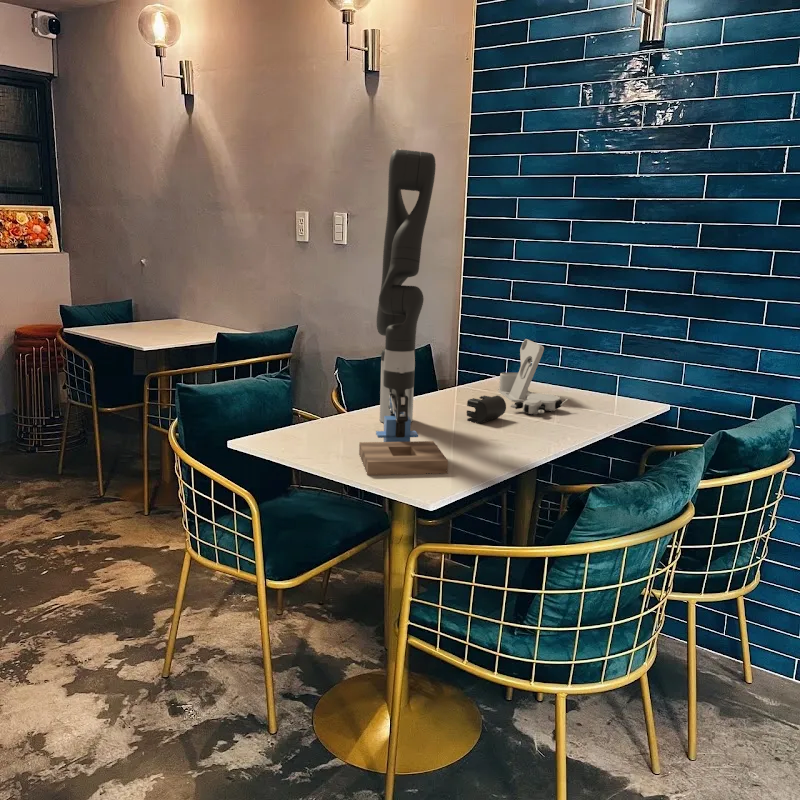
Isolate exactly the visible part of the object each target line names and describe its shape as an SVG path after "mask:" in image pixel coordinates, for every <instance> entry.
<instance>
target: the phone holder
mask: <svg viewBox="0 0 800 800" xmlns="http://www.w3.org/2000/svg"><path fill="white" fill-rule="evenodd" d="M544 351H545V347H544V345H541V344H540V343H537V342H536V341H535V342H534V341H532V340H530V339H527V338H525V339H524V340H523V341H522V343H521V346H520V349H519V352H520V353H519V356H520V357H519V358H520V367H519V369H518V370H519V371H518V372H500V375H499V389H498V390H497V392H498V393H499V394H500V395H502V396H504V397H505V398H506V399H507V398H508V399H507V400H508V401H511V402H513V403H516V402H522V403H524V401H526V397H527V396H529V395H531V393H532V392H531V391H529V387H530V385H531V383H532V380H533V378H534V376H535V373H536V370H537V368H538V367H539V366H538V365H539V363H540V361H541V358H542V357H543V353H544Z"/></svg>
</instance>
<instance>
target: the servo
mask: <svg viewBox="0 0 800 800" xmlns="http://www.w3.org/2000/svg"><path fill="white" fill-rule="evenodd" d="M400 417H403V414H400ZM395 419H396V418H395V416H384V423H383V430H378V431H377V430H376V431H375V436H376V437H377V438H378V439H383V442H411V438H419V434H418V432H417V431H416V430H411V426H412V424H411V423H412V422H411V419H410V418H409V416H408V421H407V422H405V436H404V437H396V435H395V433H396V421H395Z"/></svg>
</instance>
